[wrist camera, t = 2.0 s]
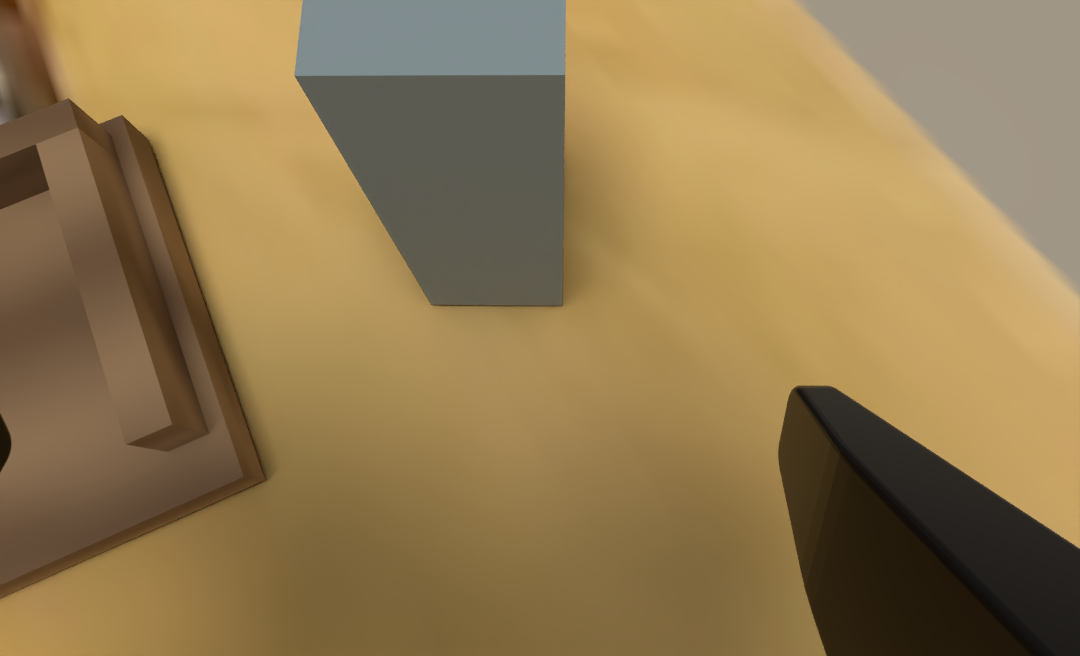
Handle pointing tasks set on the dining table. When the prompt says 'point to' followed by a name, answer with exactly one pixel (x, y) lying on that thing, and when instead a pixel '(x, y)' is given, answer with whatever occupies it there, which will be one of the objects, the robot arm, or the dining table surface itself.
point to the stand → (102, 351)
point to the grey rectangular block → (451, 134)
